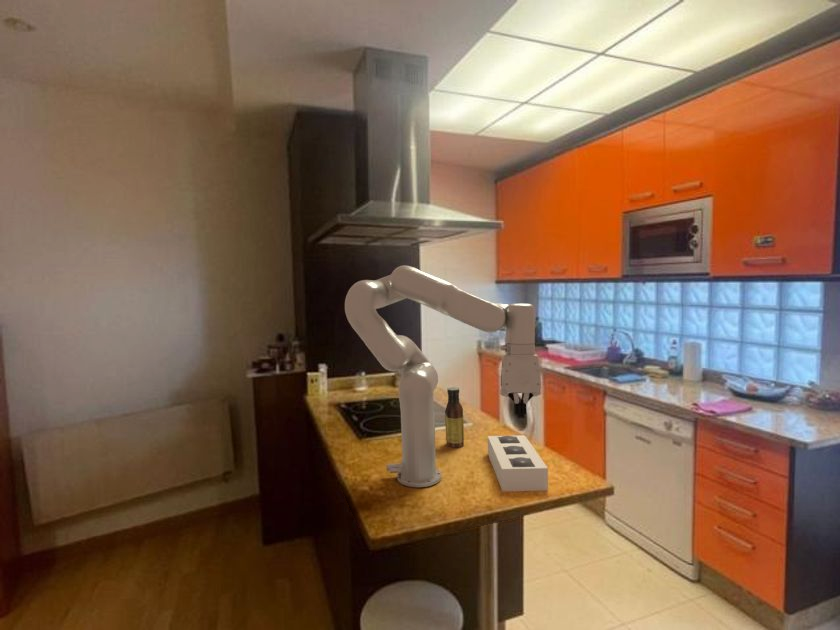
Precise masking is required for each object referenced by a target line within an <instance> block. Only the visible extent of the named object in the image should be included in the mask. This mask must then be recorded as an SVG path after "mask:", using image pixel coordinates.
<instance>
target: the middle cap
mask: <svg viewBox="0 0 840 630" xmlns="http://www.w3.org/2000/svg"><path fill="white" fill-rule="evenodd" d="M509 454H523V448H522V447H519V446H508V447H506V455H509Z"/></svg>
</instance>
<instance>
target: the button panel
mask: <svg viewBox="0 0 840 630" xmlns="http://www.w3.org/2000/svg"><path fill="white" fill-rule="evenodd" d="M502 436H503V435H487V456H488V458H489V461H490V462H491V466H492V468H493V471H494V473H495V476H496V478H497V481H498V484H499V487H500V489H501V491H502V492H529V491H530V492H532V491H534V492H535V491H537V492H538V491H540V492H541V491H546V490H547V491H549V468H548V466H547V465H546V463H545V462H544V461H543V459H542V458H541V455H540V454H539V453H538V451H536V449H535V448H534V446H533V445H532V443H531V442H530V441H529V439H528V437H527V436H526V435H523V434H521V435H512V436H513V437H516V438H517V443H503V444H501V437H502ZM508 446H519V447H522V448H523V454H509V455H506V447H508ZM517 457H523V458H527V459H529V460H531V467H512V459H514V458H517Z"/></svg>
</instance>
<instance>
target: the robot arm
mask: <svg viewBox="0 0 840 630" xmlns="http://www.w3.org/2000/svg"><path fill="white" fill-rule="evenodd" d="M406 299H409V300H410V301H414V302H416V303H418V304H421V305H423V306H425V307H427V308H430V309H432V310H435V311H436V312H438V313H440V314H443V315H445V316H448V317H450V318H453V319H454V320H457V321H459V322H460V323H463V324H465V325H468V326H471V327H472V328H475V329H478V330H479V331H482V332H485V333H490V334H491V333H496V332H498V331H500V330H501V329H505V343H504V344H503V345H500V351H504V352H505V353H504V354H503V356H502V361H501V369H500V371H501V372H500V391H499V393H500V395H501V396H503V397H506V398H510V400H511V401H512V402H513V413H514V415H516V417H517V419H525V415H527V404H528V402H529V401H530V400H531V399H532V398H533V397H538V396H541V390H542V378H541V368H540V359H539V354H536V353H535V352H536V349H535V347H536V346H535V344H536V343H535V342H536V340H535V338H536V332H535V330H536V328H535V327H536V326H535V324H536V318H535V317H536V316H535V315H536V309H535V306H534V305H533V304H531V303H510V304H507V303H505V304H504V303H498V302H490V301H489V300H488V301H487V300H484V299H482V298H481V297H478V296H475V295H473V294H470V293H468V292H467V291H464V290H462V289H461V288H459V287H458V286H456V285H455V284H453V283H451V282H449V281H446V280H444V279H442V278H439V277H437V276H435V275H432V274H430V273H427V272H426V271H425V272H424V271H422V270H420V269H418V268H417V267H414V266H411V265H405V264H404V265H400V266H398V267H396V268H395V269H394V270H393V271H392V272H391V274H389V275H386V276H383V277H381V278H378V279H376V280H375V279H374V280H373V279H372V280H371V279H363V280H358V281H357V282H355V283H354V284H353V285H351V287H350V288H349V289H348V291H347V294H346V296H345V300H344V313H345V316H346V319H347V321H348V323H349V324H350V326H351V328H352V329H353V331H355V332H356V335H358V337H359V338H360V339H361V340H362V341H363V343H364V344H365V346H366V347H367V348H368V350H369V351H370V352H371V354H372V355H373V356H374V358H376V360H377V361H378V362H379V364H380V365H381V366H382V367H383V368H384V369H385V370H387V371H389V372H398V373H399V374H400V375H401V377H400V380H399V383H398V399H399V401H398V402H399V407H400V427H401V428H400V429H401V430H400V431H401V461H400V462H397V463H386V471H390V474H397V475H396V477H397V482H398V483H400V485H404V486H406V487H410V488H411V487H412V488H427V487H430V486H433V485H436V484H438V483H439V482H440V481H441V480H442V472H441V471H440V469H438V468H437V462H436V461H437V456H436V422H435V419H436V418H435V404H434V391H435V390H436V388H437V386H438V383H439V375H438V372H437V370H436V369H435V367H434V366H433V364H432V363H431V361H430V360H429V359H428V358H427V357H426V355H425V354H424V352H423V351H421V349H420V348H419V347H418V345H417V344H416V343H415V342H414V341H413V340H412V339H411V338H409V337H408V336H406V335H400V334H397V333H395V332H394V330H393V329H392V328H391V327H390V326H389V324H388V322H387V321H386V320H385V319H384V318H383V317H382V316H381V315H380V314H379V313H378V311H377V309H378V310H379V309H381V308H385V307H386V306H390V305H392V304H395V303H398V302H401V301H403V300H406ZM519 394H521V397H520V398H521V399H520V398H519Z"/></svg>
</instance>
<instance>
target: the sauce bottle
mask: <svg viewBox="0 0 840 630" xmlns="http://www.w3.org/2000/svg"><path fill="white" fill-rule="evenodd" d="M446 391H447V404H446V407H445V410H444V416H445V419H444V420H445V421H444V422H445V440H446V441H445V442H446V445H447V446H449V447H451V448H460V447H463V446H464V444H465V428H464V427H465V425H464V424H465V423H464V422H465V421H464V419H465V418H464V409H463V406H462V404H461V402H460V388H459V387H448V388H447V390H446Z"/></svg>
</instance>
